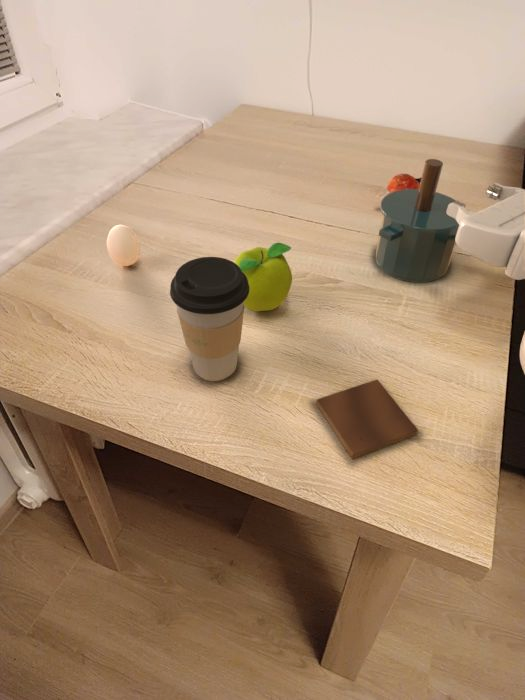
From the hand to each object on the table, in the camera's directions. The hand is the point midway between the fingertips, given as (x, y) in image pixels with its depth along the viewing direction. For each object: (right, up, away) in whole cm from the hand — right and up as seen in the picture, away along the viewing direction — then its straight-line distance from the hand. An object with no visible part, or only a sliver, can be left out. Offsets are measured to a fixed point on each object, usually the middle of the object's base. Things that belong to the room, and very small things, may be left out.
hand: (470, 197), depth 73 cm
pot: (-4, -7, +15) cm, 17 cm away
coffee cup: (-37, -24, -4) cm, 44 cm away
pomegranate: (-3, +6, +29) cm, 29 cm away
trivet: (-18, -31, -11) cm, 37 cm away
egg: (-54, -8, +13) cm, 56 cm away
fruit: (-31, -15, +6) cm, 35 cm away
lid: (-4, 0, +8) cm, 9 cm away
